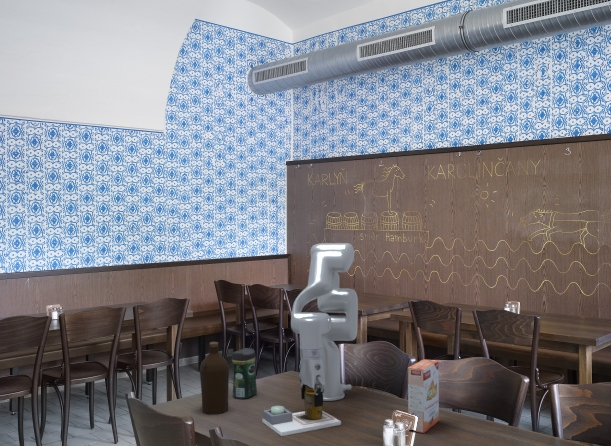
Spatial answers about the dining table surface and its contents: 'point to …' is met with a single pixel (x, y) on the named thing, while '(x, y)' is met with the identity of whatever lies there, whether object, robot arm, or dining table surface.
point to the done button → (277, 410)
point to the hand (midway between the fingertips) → (312, 402)
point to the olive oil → (214, 381)
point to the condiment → (311, 407)
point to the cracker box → (424, 393)
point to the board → (296, 422)
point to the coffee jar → (244, 373)
